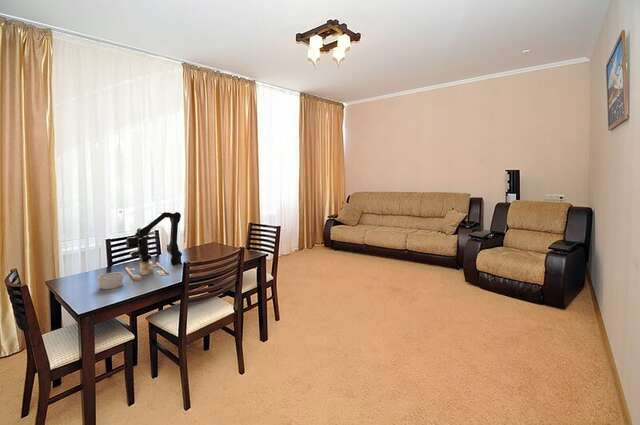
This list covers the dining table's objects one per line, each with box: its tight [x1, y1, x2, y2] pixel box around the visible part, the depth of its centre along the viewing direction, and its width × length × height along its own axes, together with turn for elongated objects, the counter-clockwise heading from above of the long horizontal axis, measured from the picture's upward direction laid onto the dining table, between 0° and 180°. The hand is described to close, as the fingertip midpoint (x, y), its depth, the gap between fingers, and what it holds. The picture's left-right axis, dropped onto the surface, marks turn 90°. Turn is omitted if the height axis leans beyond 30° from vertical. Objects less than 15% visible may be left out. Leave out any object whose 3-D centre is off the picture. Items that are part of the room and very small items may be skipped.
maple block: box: [139, 260, 154, 276], centre depth 230 cm, size 7×7×7 cm
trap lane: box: [125, 261, 170, 282], centre depth 232 cm, size 21×32×2 cm, turn 38°
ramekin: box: [97, 271, 124, 290], centre depth 203 cm, size 13×13×7 cm
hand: (144, 266), depth 235 cm, fingers closed
